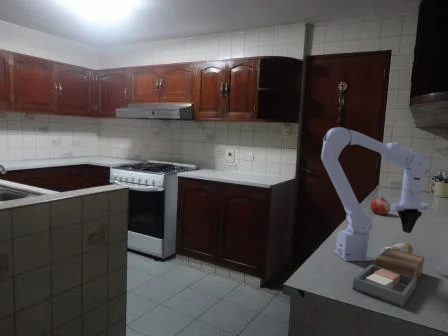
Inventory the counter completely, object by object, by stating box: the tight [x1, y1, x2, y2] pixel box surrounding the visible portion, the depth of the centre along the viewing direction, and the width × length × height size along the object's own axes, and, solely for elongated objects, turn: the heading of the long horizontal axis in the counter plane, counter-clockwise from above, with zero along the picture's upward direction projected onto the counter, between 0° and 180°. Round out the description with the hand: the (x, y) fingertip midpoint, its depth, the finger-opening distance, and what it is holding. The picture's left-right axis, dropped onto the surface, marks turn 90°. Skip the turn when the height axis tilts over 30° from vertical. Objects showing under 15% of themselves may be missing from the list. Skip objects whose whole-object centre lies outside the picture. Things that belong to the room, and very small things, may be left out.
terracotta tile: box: [374, 269, 400, 288], centre depth 91 cm, size 5×5×2 cm
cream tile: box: [365, 273, 393, 290], centre depth 87 cm, size 5×5×2 cm
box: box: [352, 264, 418, 308], centre depth 88 cm, size 14×12×3 cm
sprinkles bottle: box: [379, 241, 414, 255], centre depth 112 cm, size 5×5×13 cm
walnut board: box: [374, 248, 425, 280], centre depth 99 cm, size 14×10×5 cm
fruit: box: [370, 195, 391, 216], centre depth 177 cm, size 9×10×10 cm
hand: (406, 232), depth 107 cm, fingers closed
